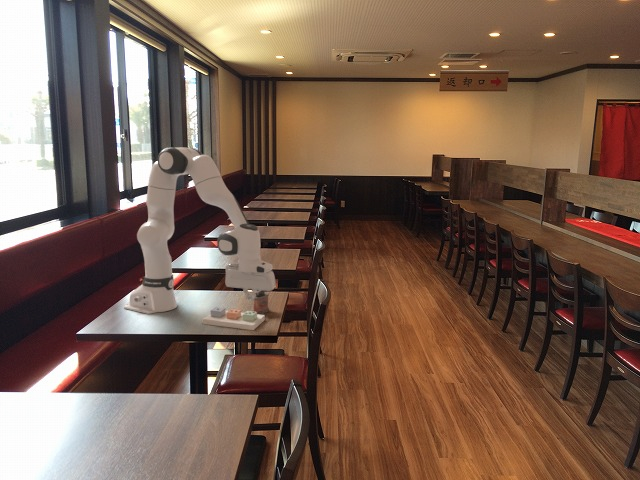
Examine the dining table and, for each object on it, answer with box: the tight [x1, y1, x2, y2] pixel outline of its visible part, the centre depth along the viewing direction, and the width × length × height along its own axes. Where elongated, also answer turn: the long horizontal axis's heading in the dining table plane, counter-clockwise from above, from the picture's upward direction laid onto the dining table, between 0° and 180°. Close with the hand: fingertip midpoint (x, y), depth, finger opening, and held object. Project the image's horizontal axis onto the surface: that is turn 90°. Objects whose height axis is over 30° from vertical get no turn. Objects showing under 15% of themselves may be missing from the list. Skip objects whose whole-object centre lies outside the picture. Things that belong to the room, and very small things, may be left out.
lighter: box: [253, 290, 270, 315], centre depth 218 cm, size 8×3×10 cm, turn 143°
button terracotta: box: [226, 308, 242, 320], centre depth 206 cm, size 4×4×3 cm
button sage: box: [243, 310, 257, 322], centre depth 205 cm, size 4×4×3 cm
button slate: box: [210, 306, 227, 318], centre depth 208 cm, size 4×4×3 cm
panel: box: [201, 310, 266, 331], centre depth 207 cm, size 22×12×2 cm, turn 74°
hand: (250, 299), depth 203 cm, fingers closed
